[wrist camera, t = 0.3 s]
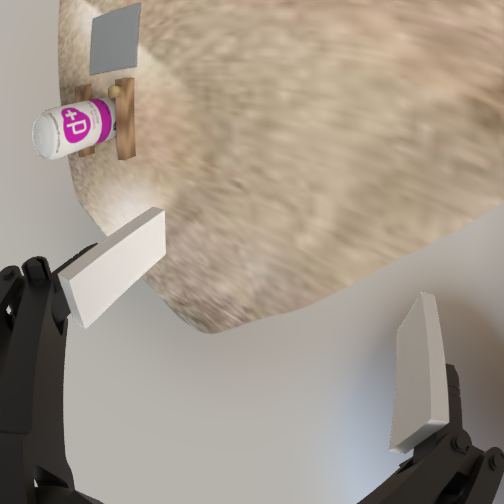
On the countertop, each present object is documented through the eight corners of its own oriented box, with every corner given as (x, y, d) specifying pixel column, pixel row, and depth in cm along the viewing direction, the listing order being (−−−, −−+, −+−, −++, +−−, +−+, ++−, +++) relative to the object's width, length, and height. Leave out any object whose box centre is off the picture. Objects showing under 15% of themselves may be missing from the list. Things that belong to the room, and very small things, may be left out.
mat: (94, 18, 35) (92, 18, 35) (141, 3, 32) (139, 3, 32) (91, 74, 42) (89, 75, 41) (136, 66, 38) (135, 66, 38)
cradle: (86, 85, 43) (68, 88, 39) (135, 77, 40) (116, 79, 36) (89, 152, 51) (73, 158, 47) (136, 155, 47) (119, 162, 43)
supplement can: (120, 91, 42) (50, 105, 30) (127, 135, 46) (59, 159, 34) (92, 102, 45) (27, 118, 33) (99, 142, 49) (36, 166, 37)
